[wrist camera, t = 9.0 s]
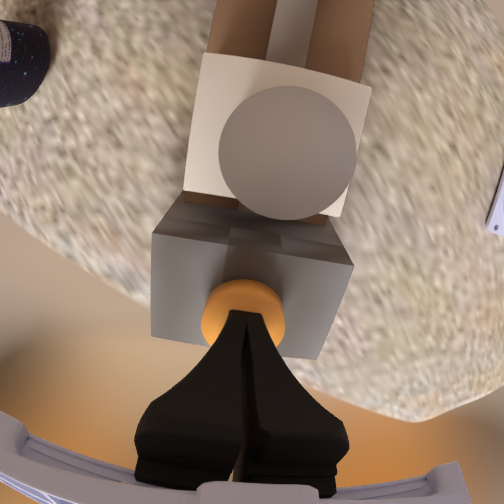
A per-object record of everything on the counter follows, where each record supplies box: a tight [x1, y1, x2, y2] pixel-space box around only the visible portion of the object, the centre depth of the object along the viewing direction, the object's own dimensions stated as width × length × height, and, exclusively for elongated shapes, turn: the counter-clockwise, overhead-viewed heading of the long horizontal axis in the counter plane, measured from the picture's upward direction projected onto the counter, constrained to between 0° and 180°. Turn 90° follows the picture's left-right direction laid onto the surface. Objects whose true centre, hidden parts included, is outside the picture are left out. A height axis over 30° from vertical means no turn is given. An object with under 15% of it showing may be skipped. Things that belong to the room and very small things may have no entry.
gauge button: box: [201, 279, 285, 347], centre depth 15 cm, size 4×4×3 cm
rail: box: [151, 0, 374, 360], centre depth 13 cm, size 9×26×6 cm, turn 170°
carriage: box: [183, 52, 372, 220], centre depth 11 cm, size 7×6×8 cm
